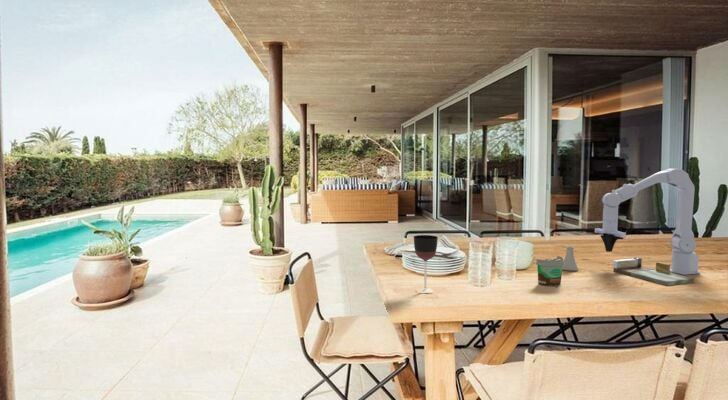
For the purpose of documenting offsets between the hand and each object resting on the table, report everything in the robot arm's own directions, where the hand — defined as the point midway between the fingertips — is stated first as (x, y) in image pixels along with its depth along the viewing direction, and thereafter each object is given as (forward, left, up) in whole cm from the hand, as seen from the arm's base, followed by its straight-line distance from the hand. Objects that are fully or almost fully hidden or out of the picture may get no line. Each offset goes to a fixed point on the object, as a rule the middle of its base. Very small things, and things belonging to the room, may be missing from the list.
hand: (608, 251), depth 196 cm
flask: (+17, -4, -8) cm, 19 cm away
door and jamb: (-5, +17, -8) cm, 19 cm away
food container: (+41, +14, -8) cm, 44 cm away
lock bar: (-4, +7, -6) cm, 9 cm away
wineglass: (+91, +6, -8) cm, 91 cm away
